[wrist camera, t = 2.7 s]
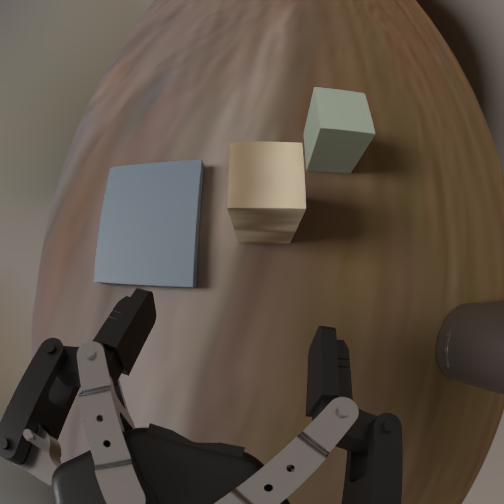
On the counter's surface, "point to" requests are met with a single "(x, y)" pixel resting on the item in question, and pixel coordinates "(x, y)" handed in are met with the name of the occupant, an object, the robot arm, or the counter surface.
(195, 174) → the slate board
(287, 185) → the birch block
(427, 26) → the counter surface
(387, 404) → the counter surface
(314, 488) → the counter surface
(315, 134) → the sage block
